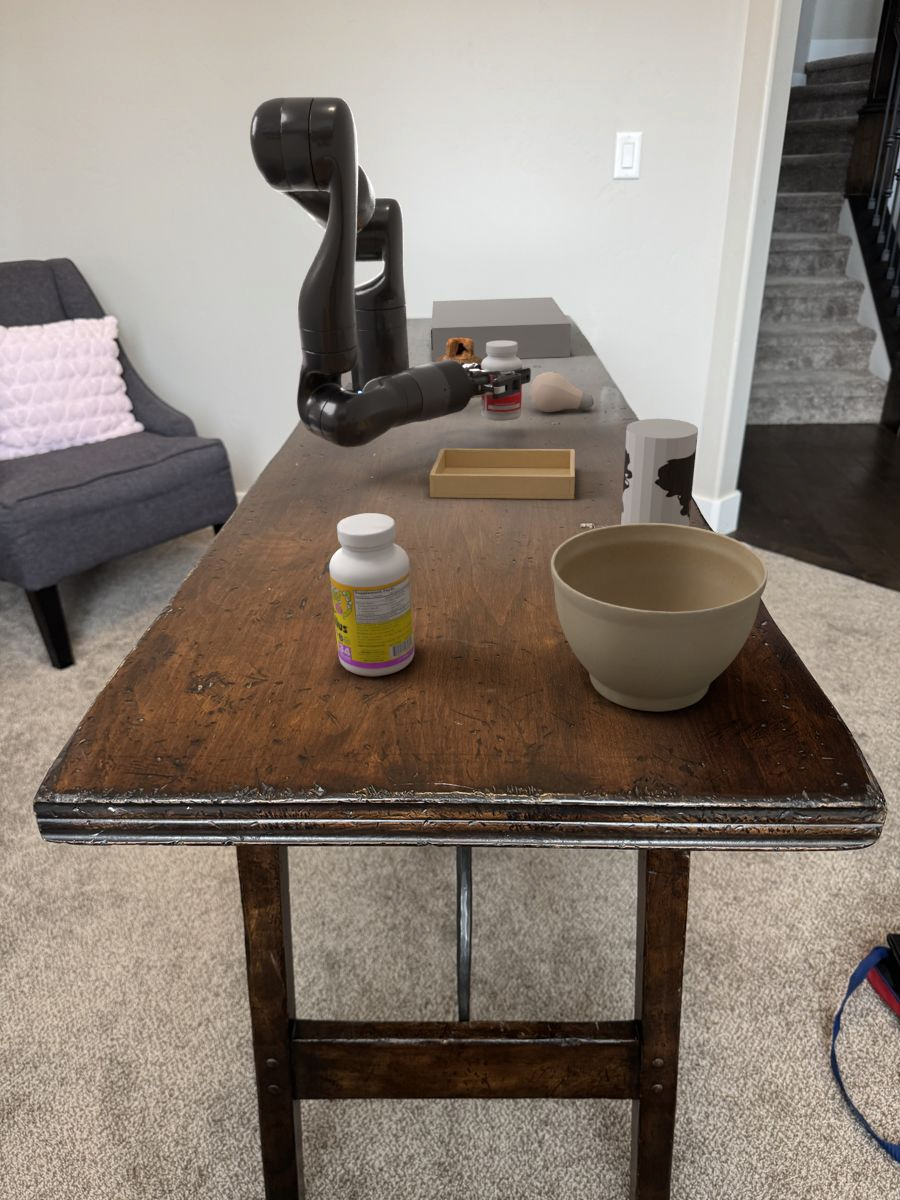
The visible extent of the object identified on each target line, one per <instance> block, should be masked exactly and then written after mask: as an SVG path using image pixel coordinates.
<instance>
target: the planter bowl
mask: <svg viewBox="0 0 900 1200" xmlns="http://www.w3.org/2000/svg"><path fill="white" fill-rule="evenodd" d="M768 571H769V570H768V567H767V564H766V563H765V561H764V559H763V558H762V557H761V556H760V555H759V554H758V553H757V552H756V551H755V550H754V549H752V548H750V547H749V546H748V545H746V544H744V543H742V542H741V541H739V540H737V539H735V538H732V537H729V536H728V535H725V534H723V533H719V532H716V531H713V530H708V529H704V528H700V527H695V526H690V525H689V526H684V525H676V524H665V523H631V524H622V525H621V524H614V525H608V526H602V527H597V528H593V529H589V530H586V531H583V532H581V533H577V534H575V535H573V536H571V537H569V538H568V539H566V540H565V541H563V542H562V543H561V544H559V546H558V547H557V548H556V549H555V550H554V552H553V554H552V556H551V559H550V572H551V578H552V582H553V590H554V601H555V608H556V613H557V616H558V620H559V624H560V627H561V630H562V632H563V635H564V637H565V639H566V641H567V643H568V644H569V646H570V648H571V650H572V652H573V654H574V655H575V656H576V658H577V659H578V661H579V662H580V663H581V665H582V666H583V667H584V668H585V669H586V670H587V672H588V673H589V679H590V682H591V684H592V686H593V688H594V689H595V690H596V691H597V692H598V693H599V694H600V695H601V696H602V697H604V698H605V699H607V700H609V701H610V702H612V703H614V704H616V705H619V706H621V707H625V708H628V709H632V710H636V711H643V712H653V713H654V712H657V713H658V712H670V711H671V712H672V711H676V710H681V709H684V708H688V707H690V706H692V705H694V704H696V703H698V702H699V701H701V700H702V698H703V697H704V696H705V695H706V694H707V693H708V691H709V689H710V688H709V687H710V685H711V683H712V682H713V681H714V680H716V679H717V678H718V677H719V676H720V675H721V674H722V673H723V672H724V671H726V669H727V668H729V666H730V665H731V664H732V663H733V661H734V660H735V659H736V658H737V656H738V655H739V653H740V652H741V650H742V649H743V647H744V645H745V643H746V642H747V640H748V638H749V636H750V634H751V633H752V632H751V631H752V629H753V627H754V624H755V621H756V619H757V615H758V613H759V609H760V605H761V604H760V603H761V598H762V596H763V594H764V592H765V589H766V585H767V582H768V576H769V572H768Z"/></svg>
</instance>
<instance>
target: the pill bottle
mask: <svg viewBox="0 0 900 1200" xmlns="http://www.w3.org/2000/svg"><path fill="white" fill-rule="evenodd" d="M517 351H518V345H517V342H515V341H504V340H502V341H491V342H487V343H486V353H487V354H488V356H487V357H486V358H485V359H484V360H483V361H482V363H481V370H488V369H497V370H499V371H500V372H504V371H510V370H516V369H520V368H523V362H522V360H521V358H518V357H516V353H517ZM489 376H490V384H492V381H493V375H489ZM501 378H502V377H501ZM522 398H523V384H522V385H521V391H520V392H518V393H515V394H512V395H509V396H506V397H503V398H500V399H493V398H492V395H483V396H482V397H480V399H481V400H480V404H481V405H480V406H481V407H480V408H481V409H480V411H481V416H482V417H483V418H484V419H487V420H490V421H495V422H506V421H513V420H516V419H518V418H520V417H521V415H522V409H523V407H522V405H523V404H522V403H523V400H522Z"/></svg>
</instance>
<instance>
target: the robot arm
mask: <svg viewBox="0 0 900 1200" xmlns="http://www.w3.org/2000/svg"><path fill="white" fill-rule="evenodd" d="M249 127H250V128H249V142H250V149H251V153H252V157H253V161H254V163H255V165H256V168H257V170H258V172H259V174H260V176H261V177H262V179H263V180H264V182H265V183H266V184H267V185H268V187H270V188H271V189H272V190H274V191H275V192H277V193H279V194H281V195H283V196H285V197H286V198H288V199H290V200H292V201H293V202H294V203H295V204H297V205H298V206H299V207H300V208H301V209H302V210H303V211H304V212H305V213H306V214H307V215H308V216H309V217H310V219H311V220H312V221H313V222H314V223H315V224H316V225H317V226H318V227H320V228H321V229H322V230H323V231H324V235H323V238H322V239H321V242H320V244H319V247H318V249H317V251H316V254H315V256H314V258H313V259H312V262H311V263H310V266H309V268H308V270H307V272H306V274H305V276H304V278H303V280H302V283H301V286H300V289H299V293H298V298H297V321H298V322H297V323H298V330H299V341H300V347H301V354H302V360H301V365H300V370H299V377H298V378H299V379H298V384H297V392H296V393H297V394H296V407H297V412H298V417H299V419H300V421H301V424H302V425H303V426H304V428H305V429H306V430H307V432H309V433H311V434H312V435H315V436H317V437H319V438H320V439H323V440H325V441H327V442H329V443H331V444H333V445H335V446H337V447H340V448H348V449H351V448H352V449H353V448H359V447H362V446H365V445H367V444H369V443H371V442H373V441H374V440H376V439H378V438H379V437H381V436H382V435H384V434H386V433H387V432H388V431H389V430H391V429H392V428H393V429H394V428H398V427H401V426H405V425H409V424H412V423H418V422H419V423H420V422H427V421H431V420H434V419H438V418H441V417H445V416H449V415H453V414H456V413H459V412H461V411H463V410H465V409H466V408H467V406H468V405H469V403H470V401H471V399H478V398H479V399H481V397H482V396H483V395H492V398H493V399H500V398H503V397H506V396H509V395H512V394H515V393H518V392H520V391H521V385H522V386H523V385H525V384H529V383H530V382H531V379H532V371H531V368H530V367H526V366H524V367H522V368H520V369H516V370H510V371H504V372H500V371H499V370H497V369H488V370H481V364H476V363H472V364H467V363H464V362H461V363H458V362H457V361H455V360H450V359H448V360H443V361H438V362H435V361H433V362H430V363H425V364H421V365H416V366H413V367H410V356H409V340H408V338H409V337H408V321H407V317H408V316H407V305H406V304H407V300H406V281H405V248H404V247H405V225H404V223H405V222H404V215H403V209H402V206H401V203H400V202H399V200H398V199H397V198H395V197H376V194H375V193H376V192H375V189H374V186H373V184H372V182H371V180H370V178H369V176H368V175H367V173H366V171H365V170H364V169H363V167H362V166H361V164H360V162H359V146H358V133H357V127H356V123H355V118H354V114H353V111H352V109H351V107H350V105H349V104H348V102H347V101H346V100H345V99H343V98H341V97H336V96H316V97H315V96H302V97H301V96H300V97H298V96H297V97H294V96H293V97H275V98H271V99H268V100H266V101H263V102H262V103H261V104H260V105H259V106H257V108H256V110H255V111H254V113H253V115H252V118H251V122H250V126H249ZM369 262H372V263H373V262H374V263H375V262H382V263H383V267H382V270H381V271H380V272H379V273H378V274H377V275H376V276H374V277H372V278H371V279H369V280H367V281H365V282H362V283H359V284H357V285H355V274H356V263H369ZM349 372H350V376H351V382H348V383H347V384H346V385H345V386H344V387H343V385H342V375H344V374H347V373H349ZM489 375H493V381H492V384H490V376H489ZM501 377H502V378H501Z"/></svg>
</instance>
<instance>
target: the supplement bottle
mask: <svg viewBox="0 0 900 1200" xmlns="http://www.w3.org/2000/svg"><path fill="white" fill-rule="evenodd" d="M336 532H337V540H338V542H339V544H340V546H341V547H340V548H338V550H337V551H335V552H334V554H333V555H332V556H331V558H330V561H329V564H328V565H329V566H328V567H329V569H328V570H329V580H330V588H331V597H332V607H333V608H332V609H333V618H334V628H335V637H336V645H337V654H338V659H339V662H340V664H341V666H343V668H344V669H345V670H347V671H348V672H350V673H352V674H355V675H358V676H363V677H381V676H388V675H391V674H395V673H397V672H399V671H401V670H404V669H405V668H406V667H407V666H408V665H409V664H410V663H411V662H412V661H413V658H414V656H415V633H414V632H415V631H414V620H413V604H412V603H413V602H412V586H411V570H410V559H409V556H408V553H407V552H406V550H405V549H404V548H403V547H401V546H400V545H398V544H396V543H395V539H396V536H397V531H396V523H395V520H394V518H392V517H391V516H389V515H387V514H383V513H377V512H376V513H374V512H366V513H365V512H364V513H358V514H353V515H350V516H347V517H344V518H343V519H341V520H340V521H339V522H338V523H337V525H336Z"/></svg>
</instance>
